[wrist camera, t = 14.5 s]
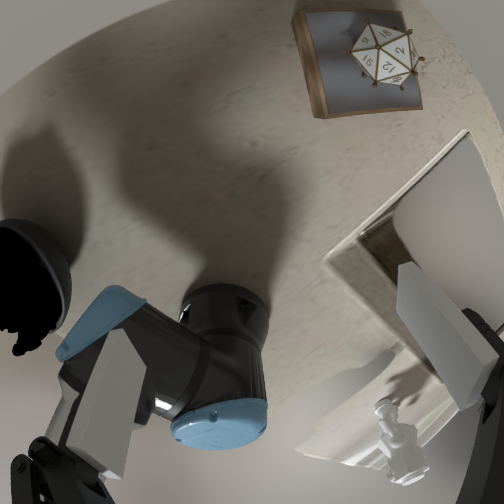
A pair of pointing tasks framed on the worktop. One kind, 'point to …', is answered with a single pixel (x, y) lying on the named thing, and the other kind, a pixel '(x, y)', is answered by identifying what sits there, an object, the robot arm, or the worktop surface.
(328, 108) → the walnut framed square mirror
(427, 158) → the worktop surface
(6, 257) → the coal bowl
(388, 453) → the robot toy
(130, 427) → the robot arm
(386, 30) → the game die
